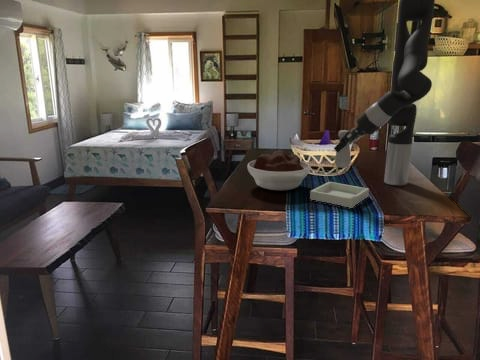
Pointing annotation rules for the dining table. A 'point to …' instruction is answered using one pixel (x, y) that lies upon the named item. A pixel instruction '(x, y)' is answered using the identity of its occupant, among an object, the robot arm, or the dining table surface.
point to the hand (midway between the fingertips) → (337, 149)
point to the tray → (339, 194)
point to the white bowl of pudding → (278, 171)
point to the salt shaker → (343, 153)
